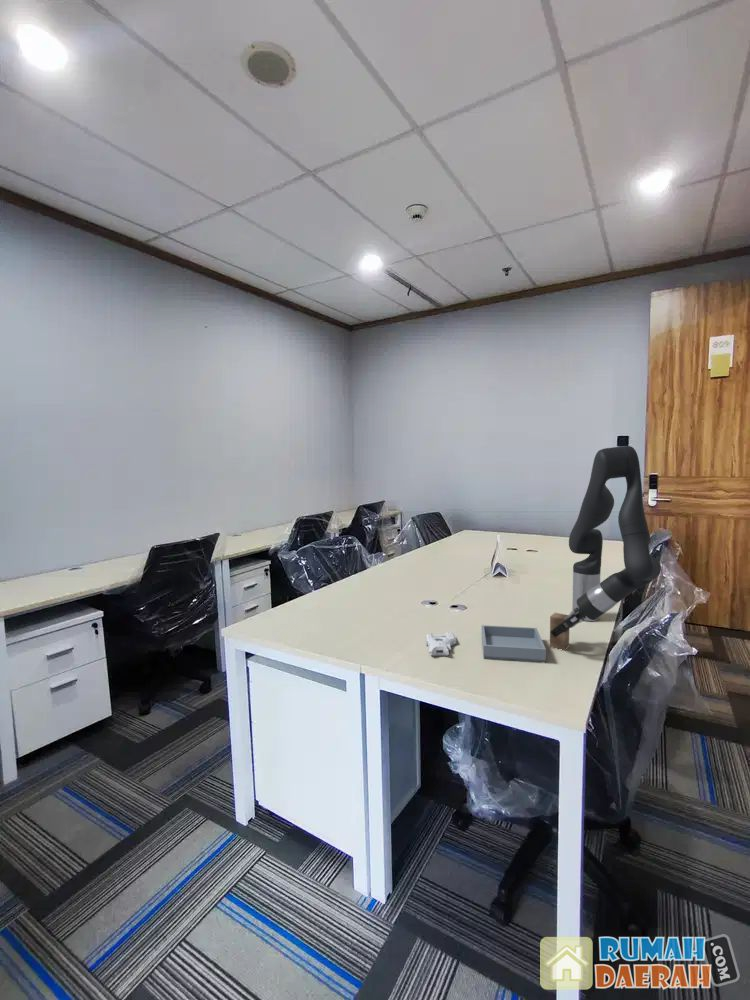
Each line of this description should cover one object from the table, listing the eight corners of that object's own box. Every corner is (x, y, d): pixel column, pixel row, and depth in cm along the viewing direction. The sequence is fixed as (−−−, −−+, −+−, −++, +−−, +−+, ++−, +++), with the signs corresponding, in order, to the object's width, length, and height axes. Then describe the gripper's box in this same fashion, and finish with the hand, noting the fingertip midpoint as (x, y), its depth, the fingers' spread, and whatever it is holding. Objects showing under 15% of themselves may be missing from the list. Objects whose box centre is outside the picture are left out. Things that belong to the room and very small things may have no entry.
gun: (461, 647, 137) (427, 647, 137) (461, 658, 137) (428, 658, 137) (452, 628, 155) (423, 629, 155) (453, 638, 155) (423, 639, 156)
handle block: (549, 647, 144) (550, 616, 143) (554, 642, 147) (554, 612, 147) (564, 650, 141) (565, 619, 140) (569, 646, 145) (569, 615, 144)
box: (481, 636, 154) (481, 625, 153) (536, 639, 150) (536, 627, 150) (483, 658, 136) (483, 645, 136) (545, 662, 133) (545, 649, 133)
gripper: (594, 585, 143) (556, 614, 151) (581, 596, 132) (541, 626, 140) (612, 605, 140) (572, 633, 148) (601, 618, 129) (558, 647, 137)
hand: (557, 630), depth 144 cm, fingers open, 8 cm apart
